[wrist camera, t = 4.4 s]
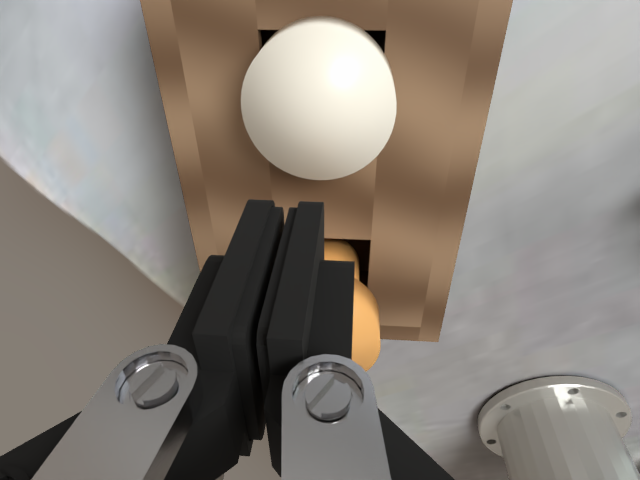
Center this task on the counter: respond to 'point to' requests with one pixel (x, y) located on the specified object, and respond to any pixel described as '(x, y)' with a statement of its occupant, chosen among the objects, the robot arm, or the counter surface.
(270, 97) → the cream button
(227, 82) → the wooden peg board
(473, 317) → the counter surface
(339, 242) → the orange button
